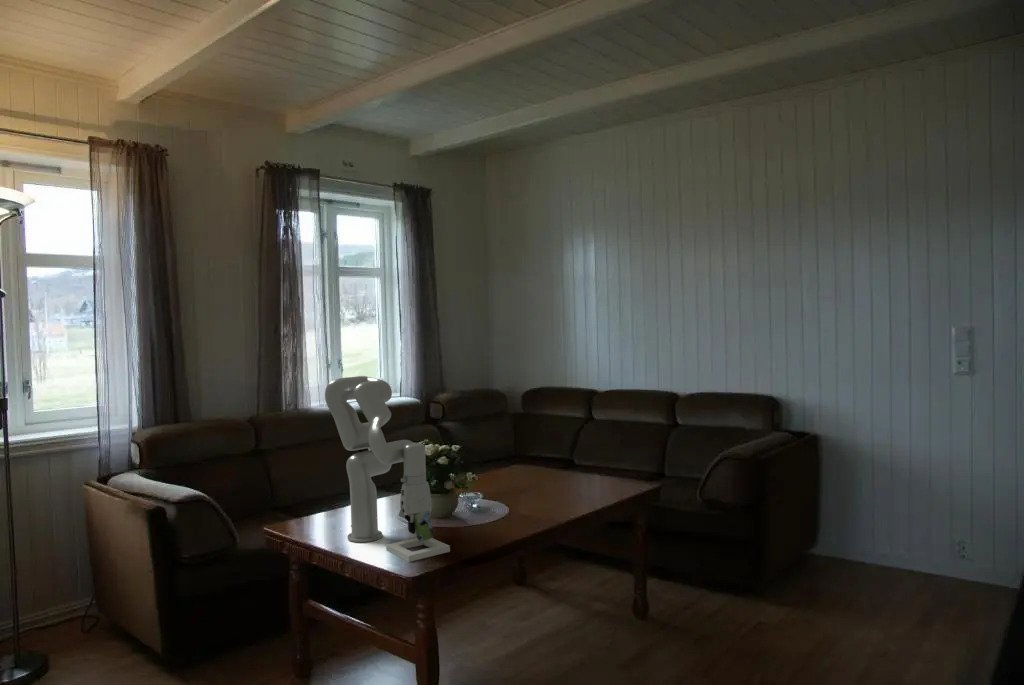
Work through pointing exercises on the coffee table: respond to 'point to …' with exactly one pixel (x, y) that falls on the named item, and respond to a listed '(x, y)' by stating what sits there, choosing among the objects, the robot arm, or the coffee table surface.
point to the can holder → (402, 552)
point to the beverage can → (423, 526)
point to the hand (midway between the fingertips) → (415, 531)
